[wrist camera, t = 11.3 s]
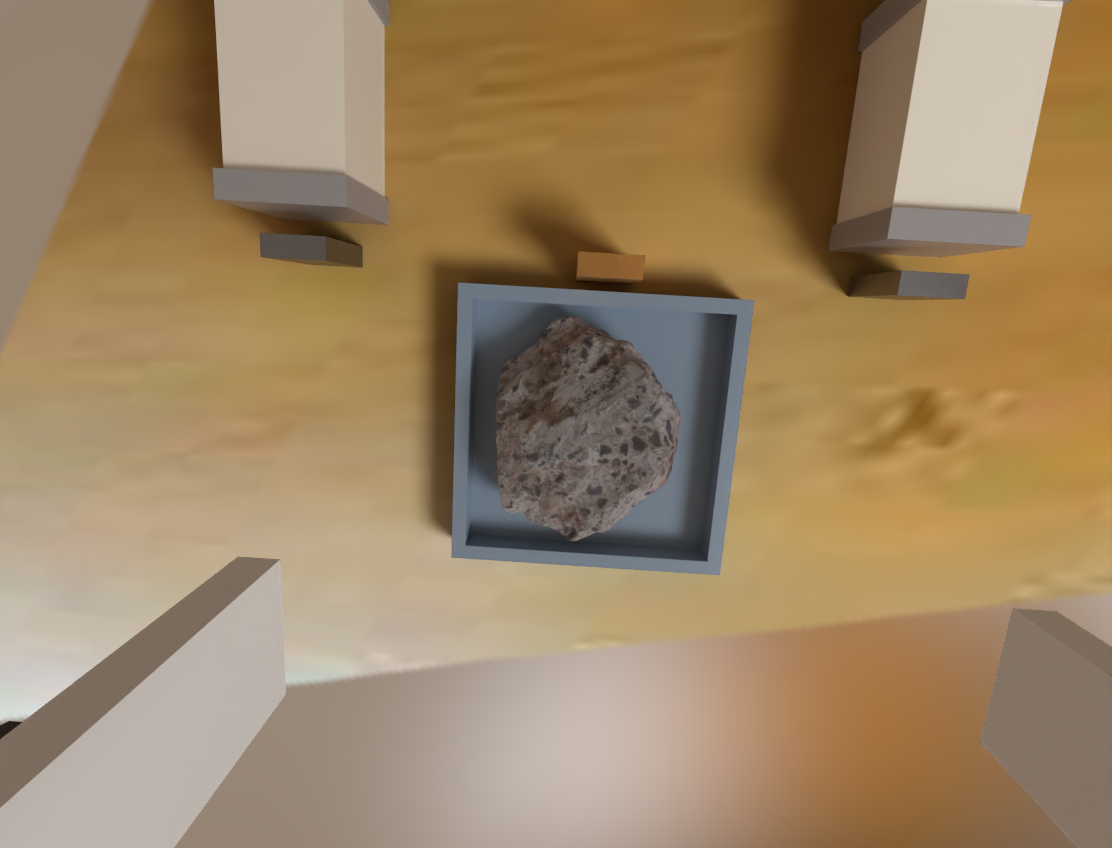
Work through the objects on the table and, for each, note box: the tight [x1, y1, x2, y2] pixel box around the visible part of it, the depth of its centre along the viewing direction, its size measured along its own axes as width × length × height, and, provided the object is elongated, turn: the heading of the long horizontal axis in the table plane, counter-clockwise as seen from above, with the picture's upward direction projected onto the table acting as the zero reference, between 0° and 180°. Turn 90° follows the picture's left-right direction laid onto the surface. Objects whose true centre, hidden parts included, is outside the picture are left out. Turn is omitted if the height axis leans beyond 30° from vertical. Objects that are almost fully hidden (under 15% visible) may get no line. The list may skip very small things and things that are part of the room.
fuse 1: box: [213, 0, 389, 225], centre depth 25 cm, size 10×5×5 cm, turn 177°
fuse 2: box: [828, 0, 1071, 258], centre depth 25 cm, size 10×5×5 cm, turn 177°
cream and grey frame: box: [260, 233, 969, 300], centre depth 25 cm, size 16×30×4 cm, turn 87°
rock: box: [496, 315, 681, 541], centre depth 28 cm, size 9×11×4 cm
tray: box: [451, 282, 754, 575], centre depth 29 cm, size 14×14×2 cm
